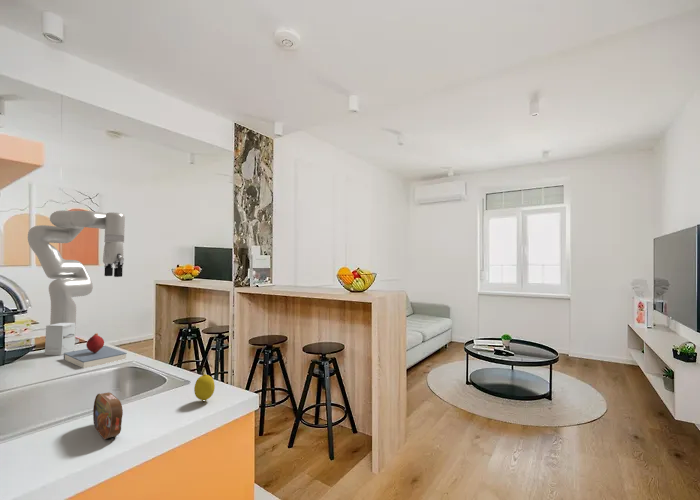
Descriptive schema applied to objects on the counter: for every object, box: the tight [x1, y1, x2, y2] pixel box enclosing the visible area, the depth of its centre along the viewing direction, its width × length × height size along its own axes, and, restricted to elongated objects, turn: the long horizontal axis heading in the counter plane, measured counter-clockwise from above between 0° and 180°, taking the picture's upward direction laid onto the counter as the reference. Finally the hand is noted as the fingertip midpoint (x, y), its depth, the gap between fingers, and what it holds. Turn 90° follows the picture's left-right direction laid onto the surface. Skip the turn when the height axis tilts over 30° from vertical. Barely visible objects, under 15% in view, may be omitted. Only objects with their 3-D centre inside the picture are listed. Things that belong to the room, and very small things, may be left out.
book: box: [63, 345, 127, 369], centre depth 143 cm, size 20×15×3 cm
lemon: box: [194, 373, 216, 401], centre depth 102 cm, size 6×6×8 cm
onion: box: [86, 332, 105, 353], centre depth 143 cm, size 6×6×8 cm
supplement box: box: [44, 322, 77, 356], centre depth 151 cm, size 7×7×13 cm
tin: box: [92, 391, 124, 440], centre depth 84 cm, size 15×3×8 cm, turn 48°
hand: (113, 276), depth 160 cm, fingers open, 9 cm apart
